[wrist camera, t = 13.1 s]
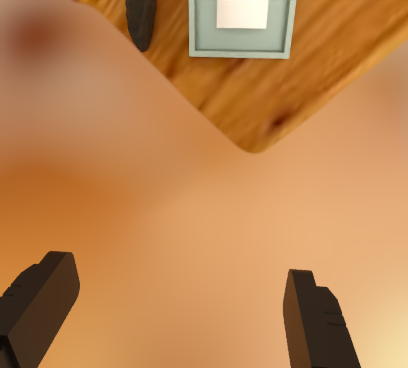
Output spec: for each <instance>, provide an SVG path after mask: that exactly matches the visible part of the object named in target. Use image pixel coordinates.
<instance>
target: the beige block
mask: <svg viewBox="0 0 408 368" xmlns="http://www.w3.org/2000/svg"><path fill="white" fill-rule="evenodd" d="M268 1H269V0H217V28H263V29H266V23H267V12H268Z"/></svg>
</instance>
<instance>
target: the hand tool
mask: <svg viewBox="0 0 408 368" xmlns="http://www.w3.org/2000/svg"><path fill="white" fill-rule="evenodd" d="M125 4H126V8H127V12H126V17H127V20H128V21H127V24H128V30H129V33H130V36H131V38H132V40H133V43H134V44H135V45H136V47H137V48H138V49H139V50H140V51H141V52H145V51H146V50H147V49H148V46H149V43H150V40H151V36H152V30H153V26H154V16H155V11H156V0H126V3H125Z"/></svg>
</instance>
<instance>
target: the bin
mask: <svg viewBox="0 0 408 368" xmlns="http://www.w3.org/2000/svg"><path fill="white" fill-rule="evenodd" d="M295 7H296V0H269V1H268V12H267V23H266V29H263V28H217V0H189V56H192V57H235V58H278V59H289V55H290V47H291V39H292V31H293V23H294V15H295Z"/></svg>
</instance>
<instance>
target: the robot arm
mask: <svg viewBox="0 0 408 368" xmlns="http://www.w3.org/2000/svg"><path fill="white" fill-rule="evenodd" d="M79 289H80V282H79V277H78V273H77V268H76V264H75V260H74V256H73V254H72V253H71V252H60V251H59V252H58V251H50V252H48V253H47V254H46V255H45V257H44V258H43V259H42V260H41V262H40V263H39V264H33V265H32V266H30V267H29V268H27V269H26V270H24V271H23V272H21V274H20V275H19V276H18V277H17V278H16V279H15V280H14V281H13V283H12V284H11V287H8V289H7V290H6V291H5V292H4V294H3V296H2V297H0V368H37V367H38V366H39V364H40V362H41V361H42V359H43V357H44V355H45V354H46V352H47V350H48V348H49V347H50V345H51V343H52V341H53V340H54V338H55V336H56V334H57V333H58V331H59V329H60V327H61V326H62V324H63V322H64V320H65V319H66V316H67V315H68V313H69V312H70V310H71V308H72V306H73V305H74V303H75V301H76V299H77V297H78V294H79ZM283 317H284V324H285V330H286V338H287V344H288V351H289V358H290V365H291V368H361V366H360V363H359V360H358V357H357V355H356V352H355V349H354V346H353V343H352V340H351V337H350V334H349V332H348V329H347V327H346V323H345V320H344V317H343V316H342V311H341V308H340V306H339V303H338V300H337V299H336V297H335V296H334V295H333V294H332V293H331V291H330V290H329V289H328V288H327V287H319V286H316V283H315V280H314V276H313V273H312V271H309V270H296V269H290V270H289V272H288V278H287V283H286V288H285V294H284V300H283Z"/></svg>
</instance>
